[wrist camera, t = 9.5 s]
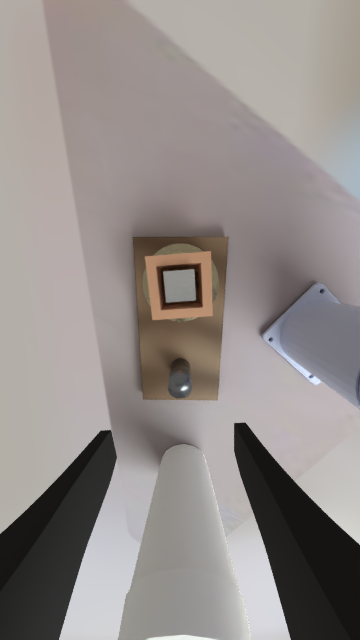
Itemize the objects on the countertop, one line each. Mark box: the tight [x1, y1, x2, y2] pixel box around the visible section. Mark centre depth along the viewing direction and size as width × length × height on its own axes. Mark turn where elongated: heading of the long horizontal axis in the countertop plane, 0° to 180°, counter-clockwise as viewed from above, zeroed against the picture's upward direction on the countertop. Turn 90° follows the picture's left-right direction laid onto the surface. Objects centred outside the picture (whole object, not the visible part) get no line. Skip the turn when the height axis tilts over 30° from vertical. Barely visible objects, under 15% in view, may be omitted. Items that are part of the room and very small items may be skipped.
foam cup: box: [118, 444, 252, 640], centre depth 17 cm, size 10×9×13 cm
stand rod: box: [168, 358, 192, 399], centre depth 17 cm, size 2×2×4 cm
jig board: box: [133, 237, 228, 400], centre depth 18 cm, size 18×9×1 cm, turn 0°
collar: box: [145, 251, 213, 320], centre depth 15 cm, size 5×5×3 cm
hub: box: [142, 244, 219, 322], centre depth 15 cm, size 8×8×4 cm
